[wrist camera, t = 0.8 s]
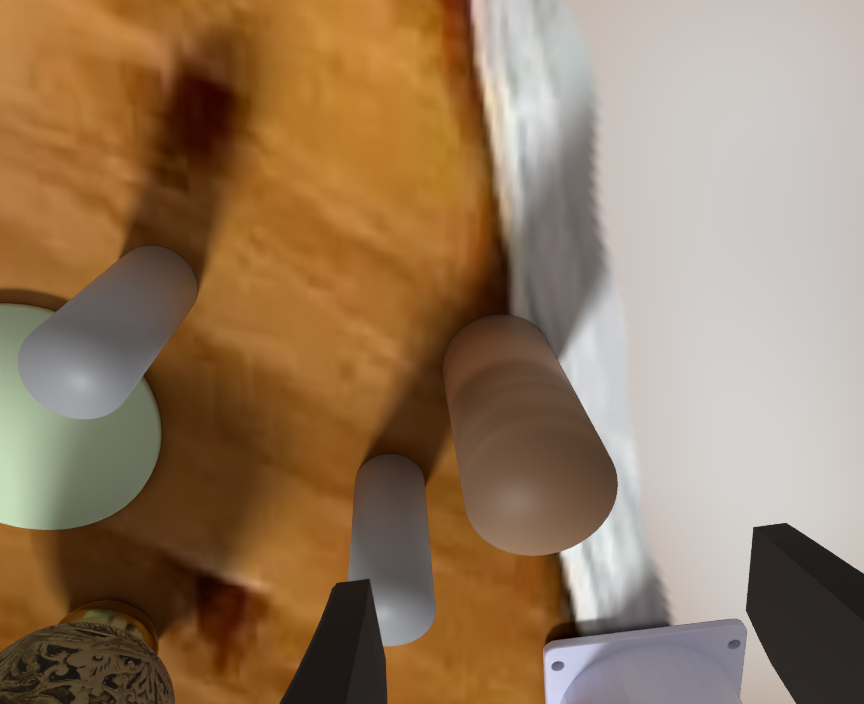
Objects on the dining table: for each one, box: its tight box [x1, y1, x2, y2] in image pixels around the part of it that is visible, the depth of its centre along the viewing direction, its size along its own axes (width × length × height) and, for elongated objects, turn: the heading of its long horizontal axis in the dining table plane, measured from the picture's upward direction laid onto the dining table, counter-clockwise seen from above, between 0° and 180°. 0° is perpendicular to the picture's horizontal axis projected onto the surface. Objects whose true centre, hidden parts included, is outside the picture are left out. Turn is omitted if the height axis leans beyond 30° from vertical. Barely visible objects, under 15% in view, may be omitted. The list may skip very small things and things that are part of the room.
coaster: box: [0, 303, 162, 530], centre depth 22 cm, size 8×8×1 cm
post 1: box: [18, 245, 198, 419], centre depth 18 cm, size 2×2×6 cm
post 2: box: [348, 454, 435, 646], centre depth 22 cm, size 2×2×6 cm
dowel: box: [442, 314, 618, 556], centre depth 19 cm, size 4×4×7 cm
